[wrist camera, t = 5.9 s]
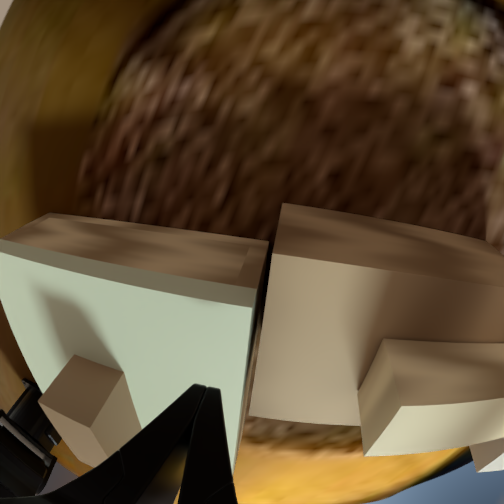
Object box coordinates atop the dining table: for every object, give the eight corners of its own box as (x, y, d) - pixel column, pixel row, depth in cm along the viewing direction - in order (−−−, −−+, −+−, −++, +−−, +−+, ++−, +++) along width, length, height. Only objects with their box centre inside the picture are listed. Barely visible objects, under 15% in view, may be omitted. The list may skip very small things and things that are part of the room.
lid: (74, 411, 19) (45, 457, 14) (9, 233, 13) (-61, 277, 8) (235, 462, 18) (221, 525, 13) (259, 278, 11) (230, 391, 6)
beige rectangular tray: (92, 383, 23) (63, 427, 18) (46, 182, 15) (-22, 211, 10) (383, 435, 20) (389, 491, 15) (485, 241, 13) (543, 293, 8)
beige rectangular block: (357, 393, 11) (363, 456, 8) (382, 338, 9) (401, 406, 7) (496, 389, 10) (515, 433, 7) (527, 343, 9) (555, 386, 6)
